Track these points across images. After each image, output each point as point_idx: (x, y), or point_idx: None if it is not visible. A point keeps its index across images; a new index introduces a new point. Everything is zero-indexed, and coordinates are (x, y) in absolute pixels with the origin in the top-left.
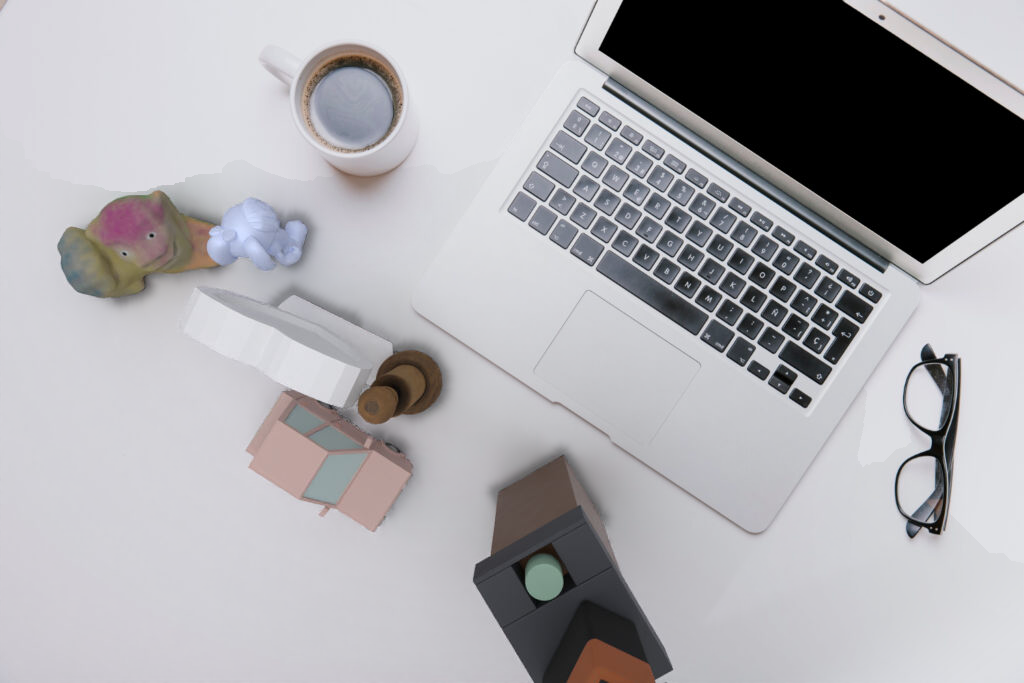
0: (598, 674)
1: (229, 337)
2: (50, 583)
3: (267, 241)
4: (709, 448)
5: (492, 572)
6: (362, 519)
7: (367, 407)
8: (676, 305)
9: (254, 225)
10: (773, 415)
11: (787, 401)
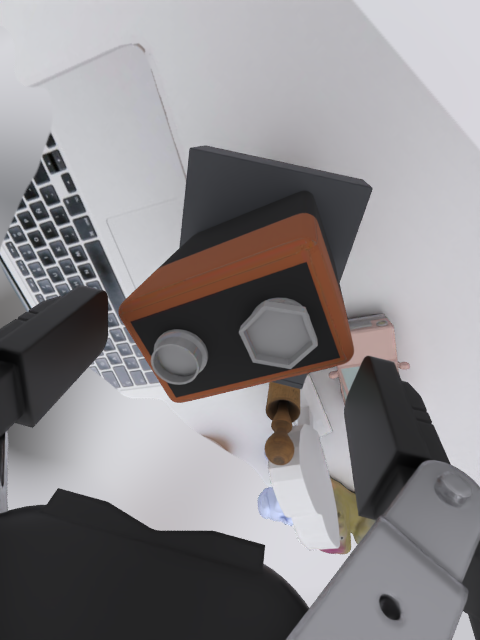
0: (176, 400)
1: (316, 538)
2: None
3: (272, 496)
4: (135, 157)
5: (279, 381)
6: (390, 339)
7: (281, 462)
8: (100, 266)
9: (268, 511)
10: (74, 140)
11: (58, 142)
